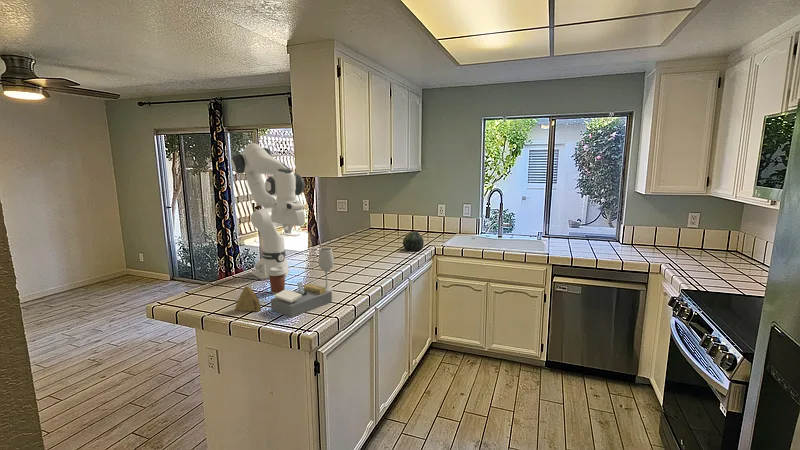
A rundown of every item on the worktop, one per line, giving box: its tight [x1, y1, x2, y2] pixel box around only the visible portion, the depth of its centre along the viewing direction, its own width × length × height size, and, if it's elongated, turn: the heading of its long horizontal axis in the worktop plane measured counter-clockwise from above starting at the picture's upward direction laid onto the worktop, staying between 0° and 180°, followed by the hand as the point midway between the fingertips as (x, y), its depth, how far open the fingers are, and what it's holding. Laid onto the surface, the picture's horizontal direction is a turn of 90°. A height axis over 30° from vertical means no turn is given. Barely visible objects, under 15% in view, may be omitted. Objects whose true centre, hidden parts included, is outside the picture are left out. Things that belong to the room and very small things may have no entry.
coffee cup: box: [268, 267, 286, 295], centre depth 195 cm, size 9×9×12 cm
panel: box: [270, 287, 333, 318], centre depth 176 cm, size 14×23×7 cm, turn 144°
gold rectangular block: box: [303, 283, 326, 294], centre depth 182 cm, size 11×4×2 cm, turn 54°
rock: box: [234, 286, 262, 312], centre depth 171 cm, size 11×9×10 cm
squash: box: [402, 231, 425, 252], centre depth 288 cm, size 14×15×15 cm
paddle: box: [296, 281, 305, 295], centre depth 176 cm, size 2×2×6 cm
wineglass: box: [317, 247, 335, 292], centre depth 198 cm, size 8×8×21 cm
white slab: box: [273, 288, 302, 302], centre depth 170 cm, size 11×6×1 cm, turn 54°
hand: (287, 233), depth 184 cm, fingers closed
